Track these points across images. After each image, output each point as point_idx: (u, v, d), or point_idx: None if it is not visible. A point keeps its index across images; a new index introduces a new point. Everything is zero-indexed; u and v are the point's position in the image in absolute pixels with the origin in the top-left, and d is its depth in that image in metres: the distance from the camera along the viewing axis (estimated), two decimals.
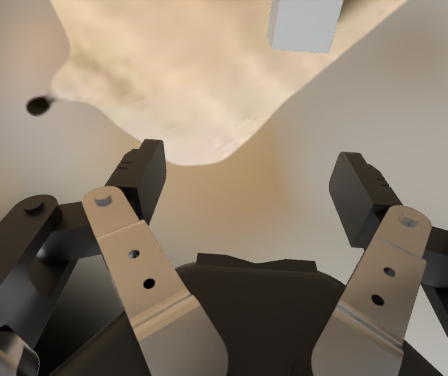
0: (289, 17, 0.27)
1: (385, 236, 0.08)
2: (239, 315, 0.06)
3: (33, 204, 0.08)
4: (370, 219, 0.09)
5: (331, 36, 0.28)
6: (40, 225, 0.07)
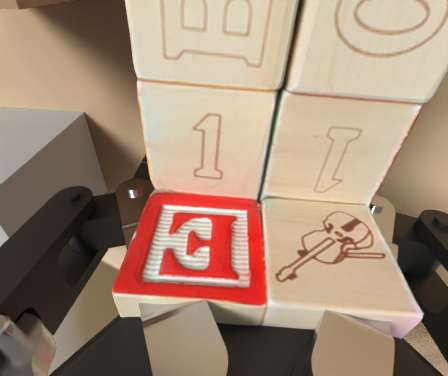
0: None
1: None
2: None
3: (71, 195, 0.08)
4: None
5: None
6: (79, 214, 0.08)
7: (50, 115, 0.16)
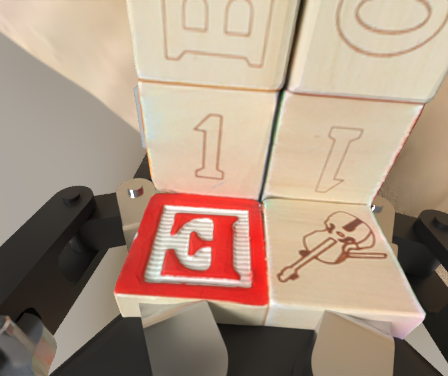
0: None
1: None
2: None
3: (71, 194, 0.08)
4: None
5: None
6: (80, 214, 0.08)
7: None
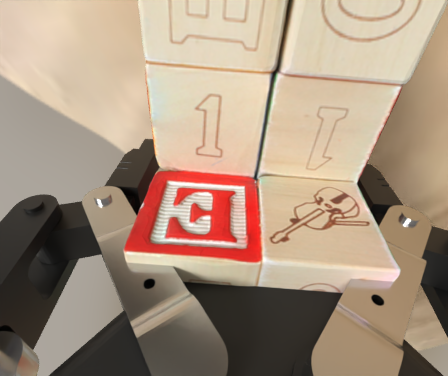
0: None
1: (385, 236, 0.08)
2: (239, 315, 0.06)
3: (33, 204, 0.08)
4: None
5: None
6: (40, 225, 0.07)
7: None
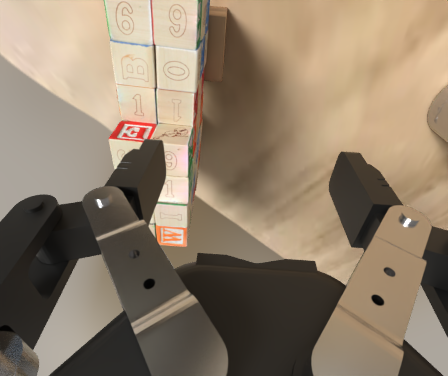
0: None
1: (385, 236, 0.08)
2: (239, 315, 0.06)
3: (33, 204, 0.08)
4: (370, 219, 0.09)
5: None
6: (40, 225, 0.07)
7: None
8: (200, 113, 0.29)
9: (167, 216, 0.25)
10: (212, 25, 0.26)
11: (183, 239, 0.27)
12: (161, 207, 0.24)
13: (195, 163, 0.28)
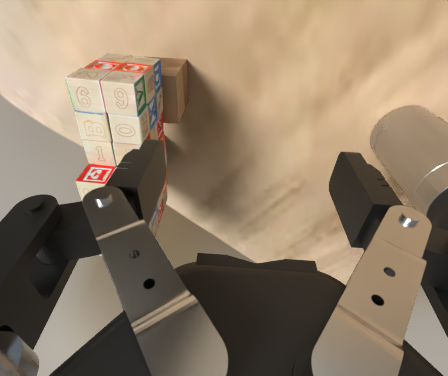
0: None
1: (385, 236, 0.08)
2: (239, 315, 0.06)
3: (33, 204, 0.08)
4: (370, 219, 0.09)
5: None
6: (40, 225, 0.07)
7: None
8: None
9: None
10: (165, 82, 0.32)
11: None
12: None
13: None
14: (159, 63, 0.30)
